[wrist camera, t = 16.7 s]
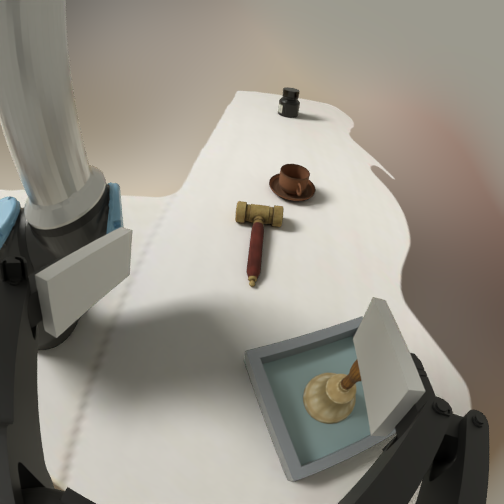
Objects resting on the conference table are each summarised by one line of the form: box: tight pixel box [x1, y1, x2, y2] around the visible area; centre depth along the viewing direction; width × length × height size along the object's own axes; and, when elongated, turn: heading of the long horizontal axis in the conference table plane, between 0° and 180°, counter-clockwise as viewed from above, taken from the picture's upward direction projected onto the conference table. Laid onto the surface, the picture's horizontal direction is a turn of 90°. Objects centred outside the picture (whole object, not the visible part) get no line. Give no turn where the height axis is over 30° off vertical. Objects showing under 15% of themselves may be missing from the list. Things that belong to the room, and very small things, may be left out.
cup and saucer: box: [269, 164, 315, 201], centre depth 72 cm, size 12×12×6 cm
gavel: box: [235, 201, 283, 287], centre depth 58 cm, size 21×5×10 cm
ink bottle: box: [278, 88, 300, 117], centre depth 111 cm, size 10×9×12 cm
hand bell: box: [303, 360, 362, 424], centre depth 32 cm, size 8×8×16 cm
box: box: [244, 317, 396, 481], centre depth 37 cm, size 20×20×4 cm
